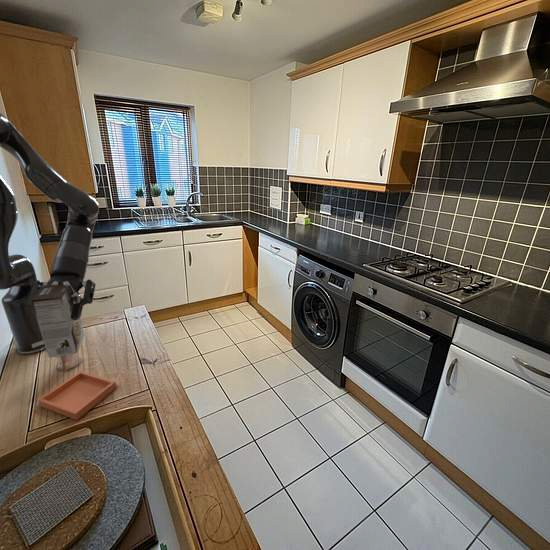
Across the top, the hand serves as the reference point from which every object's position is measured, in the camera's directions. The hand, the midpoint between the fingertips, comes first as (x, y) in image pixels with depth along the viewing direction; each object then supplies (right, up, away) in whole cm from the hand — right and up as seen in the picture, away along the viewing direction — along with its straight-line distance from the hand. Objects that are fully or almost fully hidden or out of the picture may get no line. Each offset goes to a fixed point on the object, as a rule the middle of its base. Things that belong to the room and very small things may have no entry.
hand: (56, 319), depth 72 cm
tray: (-1, -23, +10) cm, 25 cm away
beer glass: (-13, -18, +22) cm, 31 cm away
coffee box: (0, -8, +4) cm, 9 cm away
